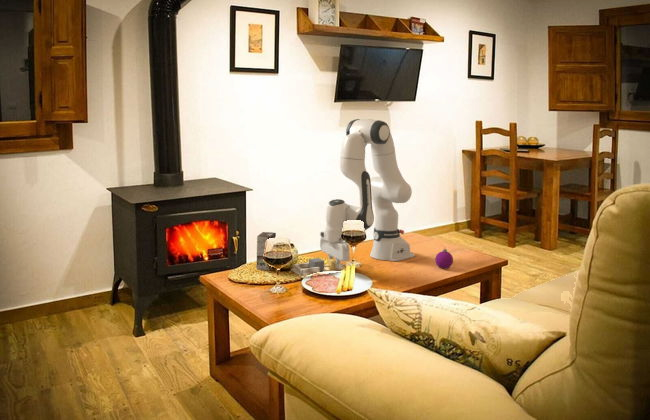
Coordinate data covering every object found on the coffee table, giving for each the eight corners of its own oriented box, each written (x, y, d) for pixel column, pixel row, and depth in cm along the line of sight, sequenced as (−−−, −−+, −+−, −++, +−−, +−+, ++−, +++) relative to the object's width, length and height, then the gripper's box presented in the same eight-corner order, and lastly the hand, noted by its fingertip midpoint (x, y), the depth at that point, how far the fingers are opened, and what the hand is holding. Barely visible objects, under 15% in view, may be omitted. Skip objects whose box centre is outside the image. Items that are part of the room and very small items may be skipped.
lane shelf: (339, 264, 283) (339, 256, 282) (354, 272, 272) (355, 264, 271) (289, 271, 270) (290, 263, 269) (303, 280, 259) (304, 271, 258)
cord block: (331, 266, 276) (331, 256, 275) (336, 269, 271) (337, 259, 270) (308, 269, 270) (308, 259, 269) (314, 273, 266) (314, 262, 265)
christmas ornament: (446, 272, 278) (448, 251, 276) (431, 267, 283) (432, 247, 281) (455, 268, 284) (457, 247, 282) (440, 264, 289) (442, 244, 287)
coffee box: (269, 272, 267) (270, 237, 264) (256, 271, 269) (256, 236, 265) (275, 266, 276) (276, 232, 273) (262, 265, 277) (262, 231, 274)
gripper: (353, 240, 263) (352, 271, 266) (329, 230, 280) (328, 258, 283) (341, 242, 260) (340, 273, 263) (318, 231, 277) (317, 260, 280)
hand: (334, 265), depth 273 cm, fingers closed on cord block, 3 cm apart
